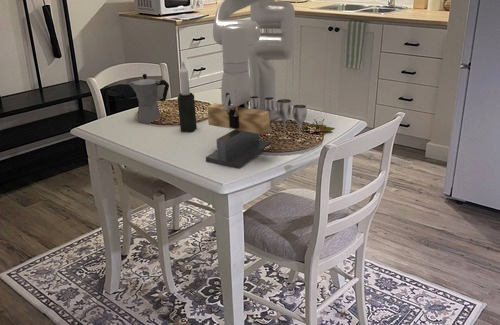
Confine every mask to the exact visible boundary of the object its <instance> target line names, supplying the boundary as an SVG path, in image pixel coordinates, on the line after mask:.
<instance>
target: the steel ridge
mask: <svg viewBox="0 0 500 325" xmlns="http://www.w3.org/2000/svg"><path fill="white" fill-rule="evenodd" d="M270 144H271V145H272V142H271V141H266V140H261V139H260V134H258V133H252V132H247V131H241V130H235V129H232V130H231V131H229V132H228V133H225V134H224V135H222V136H220V137H219V138H216V150H215V151H213V152H211V153H210V154H208V155H206V156H205V162H207V163H212V164H215V165H220V166H223V167H224V166H225V167H229V168H234V169H238V170H239V169H241V168H242V167H244V166H245V165H246V164H248V163H250V162H252V160H254V159H256V158H257V157H259V156H260V155H261V154H263V153H264V152H265V151H264V148H265V147H267V146H269V145H270Z"/></svg>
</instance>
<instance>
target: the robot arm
mask: <svg viewBox="0 0 500 325" xmlns="http://www.w3.org/2000/svg"><path fill="white" fill-rule="evenodd" d="M249 6H250V8H249V9H250V19H229V17H231V16H232V15H233V14H235V13H236V12H238V11H240V10H243V9H245V8H248V7H249ZM212 27H213V29H212V36H213V37H212V38H213V40H214V42H215V43H216V44H218V45H220V46H221V50H222V64H223V67H222V68H223V73H222V78H221V90H220V91H221V104H222V105H223V106H224V107H223V110H224V111H226V112H227V113H228V116H229V126H230V128H236V129H238V128H239V116H237V112H238V107H242V108H248V107H247V106H248V104H249V105H250V99H251V97H252V96H258V97H259V100H260V107H259V110H263V111H265V110H264V99H265V98H267V97H272V98H274V102H275V108H274V112H273V114H272V117H271V121H275V120H277V119H279V118H280V117H279V115H278V113H277V108H276V106H277V101H278V100H276V98H277V97H276V96H277V95H276V94H277V93H276V70H275V67H274V66H273V64H272V63H271V62H270V61H288V60H291V59H292V58H293V56H294V54H295V47H296V46H295V44H296V43H295V42H296V41H295V40H296V36H295V35H296V13H295V7H294V5H293V4H292V2H290V1H283V0H281V1H279V0H278V1H277V0H222V1H221V2H220V4H219V5H218V6H217V8H216V11H215V16H214V21H213V26H212ZM261 30H279V31H281V32H261ZM232 108H234V111H233V109H232ZM271 121H270V122H271ZM230 128H229V129H230Z"/></svg>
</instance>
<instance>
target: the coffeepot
mask: <svg viewBox="0 0 500 325" xmlns="http://www.w3.org/2000/svg"><path fill="white" fill-rule="evenodd" d="M147 76H148V74H146V73H143V74H142V78H141V79H138V80H134V81H130V82H128V84H127V85H129V86H130V87H131V88H132V90H133V91H134V93H135V94H136V97H137V98H136V99H137V101H138V110H137V113H138V114H137V121H138V122H139V123H141V124H152V123H151V121H154V120H157V119H159V118H161V119H162V115H161V112H160V107H159V105H158V102H157V99H158V87H159V86H164V87H163V92H162V98H159V101H160V102H166V99H167V95H168V91H169V88H170V84H169V82H167V81H166V79H154V78H147Z"/></svg>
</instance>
